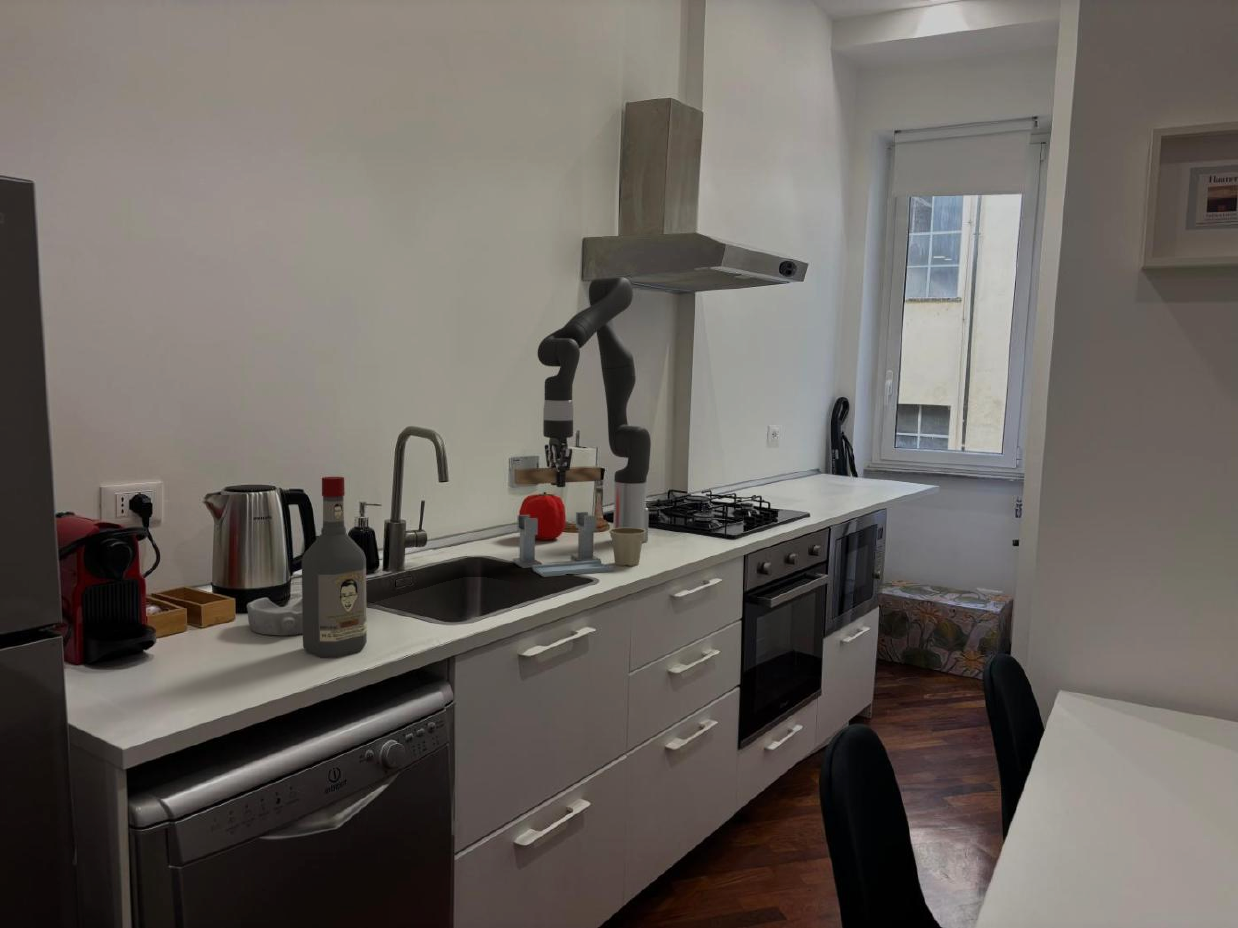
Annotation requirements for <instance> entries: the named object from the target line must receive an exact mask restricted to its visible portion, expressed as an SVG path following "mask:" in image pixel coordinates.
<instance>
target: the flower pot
mask: <svg viewBox="0 0 1238 928" xmlns="http://www.w3.org/2000/svg"><path fill="white" fill-rule="evenodd" d="M645 532H646V531H645V530H644V529H639V528H614V527H613V528H611V529H609V530H608V533H609V534H610V535H609V536H610V538H611V541H612V542H611V543H612V549H613V559H614V564H615V565H617V566H622V567H625V566H629V567H634V566H637V565H640V559H641V552H642V547H643V542H642V540H643V538H644V533H645Z"/></svg>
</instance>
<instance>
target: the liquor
mask: <svg viewBox="0 0 1238 928" xmlns="http://www.w3.org/2000/svg"><path fill="white" fill-rule="evenodd" d="M321 496H322V527H321V530H320V532H321V534H320V535H319V536H318V537H317V538H316V539H315V541H314V542H313V543H312V544H311V545H310V546H309V547H308V549H307V550H306V551H305V552H304V553H303V556H302V558H301V597H302V598H301V599H302V614H303V634H302V647H303V648H304V651H305V652H306V653H309V654H310V655H314V656H315V657H318V658H320V659H324V658H325V659H329V658H331V659H335V658H340V657H344V656H348V655H353V654H356V653H361V652H362V650H363V649H364V648H365V646H366V645H367V641H368V639H367V637H368V635H367V626H368V625H367V557H366V555H365V552H364V550H363V548H361V547H360V546H359V545H358V543H356V542H355V540H353V539H352V538H351V537H350V535H349V534H348V533H347V528H346V526H345V502H344V500H345V499H344V496H345V477H344V476H323V477H321Z"/></svg>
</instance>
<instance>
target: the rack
mask: <svg viewBox="0 0 1238 928" xmlns="http://www.w3.org/2000/svg"><path fill="white" fill-rule="evenodd" d="M597 518H598V516H597V515H596V514H592V515H591V514H590V515H589V512H588V511H578V512H575V528H577V530H578V532H577V533H578V534H577V535H578V537H577V538H578V539H577V541H578V542H577V553H570V558H572V559H574V560H575V561H576V562H582V561H595V560H601V561H602V559H601V558H599V557H597V556H595V555H594V541H595V540H594V534H595V533H594V532H597V529H598V528H597V527H598V526H597V525H598V524H597V523H598V521H597V520H598V519H597ZM516 520H517V521H516V522H517V528H516V531H517V532H518V533H519V557H516V558H512V563H514V564H516V565H517V566H519V567H521V568H522V569H526V568H529V569H530V568H533V565H542V562H540V561H538V560H537V559H535V558H536V549H535V548H536V539H535V535H538V531H537V528H538V519H537V518H530V515H519V514H517V519H516Z"/></svg>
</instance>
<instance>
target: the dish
mask: <svg viewBox="0 0 1238 928" xmlns="http://www.w3.org/2000/svg"><path fill="white" fill-rule="evenodd" d="M246 610H247V619H248V625H249V627H250V629H251V631H253V632H255V633H258V634H261V635H271V636H296V635H297V636H298V635H303V614H302V598H301V599H300V600H299V601H298V602H297V603H296V604H294V605H291V606H286V607H283V606H280V605H277V604H276V603H274V602H273V601H271V600H270V599H269V598H268V597H261V598H257V599H254V600H253V601H250V602H248V603H247V604H246Z"/></svg>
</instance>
